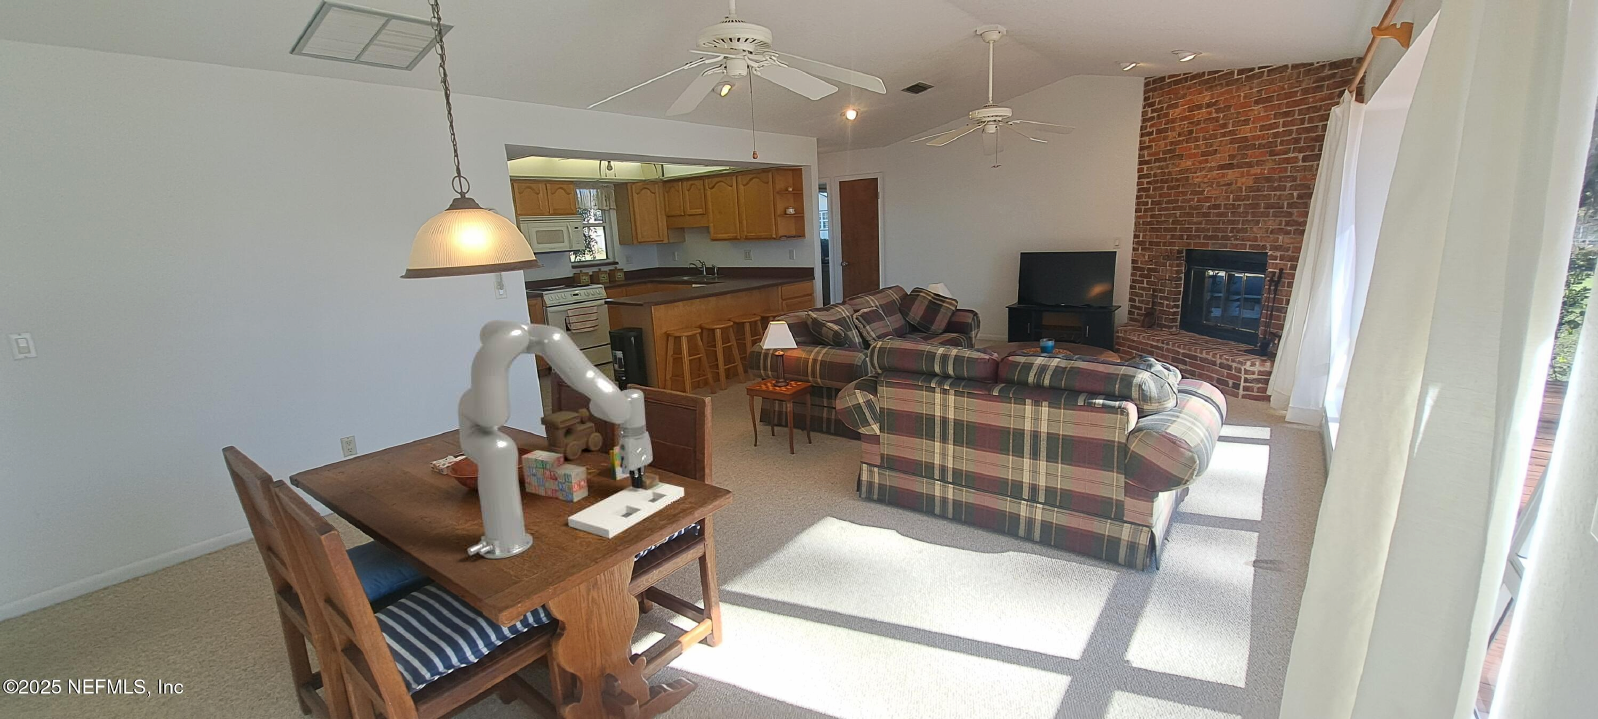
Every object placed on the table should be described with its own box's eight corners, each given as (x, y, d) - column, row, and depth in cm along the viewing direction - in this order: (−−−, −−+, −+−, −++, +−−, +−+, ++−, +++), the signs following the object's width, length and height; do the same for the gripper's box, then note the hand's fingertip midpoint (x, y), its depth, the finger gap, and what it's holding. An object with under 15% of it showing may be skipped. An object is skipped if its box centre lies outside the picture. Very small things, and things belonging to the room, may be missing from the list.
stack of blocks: (589, 495, 198) (585, 458, 195) (573, 503, 192) (569, 465, 190) (541, 484, 207) (537, 449, 205) (525, 491, 202) (521, 455, 199)
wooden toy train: (565, 465, 224) (560, 420, 220) (543, 460, 229) (538, 416, 226) (606, 447, 241) (602, 406, 237) (585, 443, 246) (581, 402, 243)
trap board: (609, 538, 169) (608, 529, 168) (568, 525, 177) (567, 517, 176) (684, 495, 195) (683, 487, 195) (646, 486, 203) (645, 478, 202)
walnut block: (647, 490, 193) (646, 481, 193) (635, 487, 196) (635, 478, 195) (658, 484, 198) (658, 475, 197) (647, 481, 200) (646, 472, 200)
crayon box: (630, 471, 215) (627, 439, 213) (635, 474, 214) (632, 441, 211) (611, 478, 210) (608, 445, 208) (616, 480, 208) (613, 447, 206)
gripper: (624, 439, 181) (628, 498, 185) (659, 425, 194) (663, 481, 198) (605, 435, 185) (610, 493, 189) (641, 422, 198) (645, 476, 201)
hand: (637, 487), depth 193 cm, fingers closed
